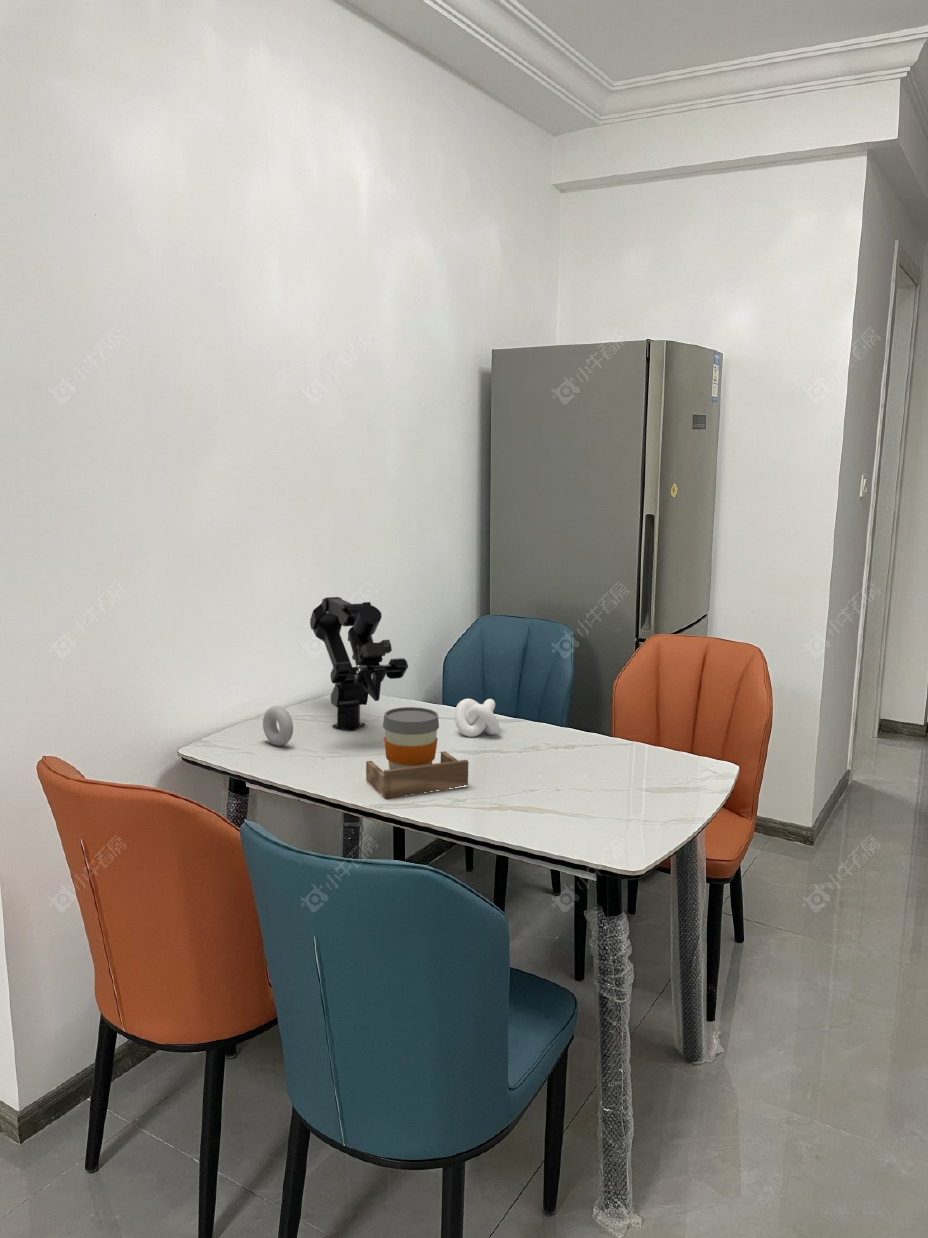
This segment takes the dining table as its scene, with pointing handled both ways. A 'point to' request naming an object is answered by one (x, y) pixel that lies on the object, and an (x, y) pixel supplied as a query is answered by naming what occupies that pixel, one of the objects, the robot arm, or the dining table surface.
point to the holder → (418, 777)
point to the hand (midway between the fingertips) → (377, 700)
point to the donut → (284, 725)
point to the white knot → (476, 717)
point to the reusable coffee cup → (410, 736)
